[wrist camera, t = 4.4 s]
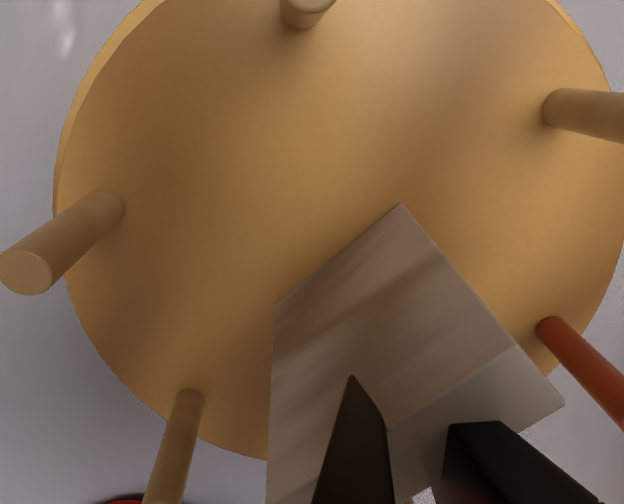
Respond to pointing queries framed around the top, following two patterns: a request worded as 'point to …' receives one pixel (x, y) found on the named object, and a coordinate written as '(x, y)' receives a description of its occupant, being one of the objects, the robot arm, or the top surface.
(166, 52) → the drying rack
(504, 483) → the robot arm
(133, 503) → the tracker holder
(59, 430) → the top surface
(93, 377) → the top surface
